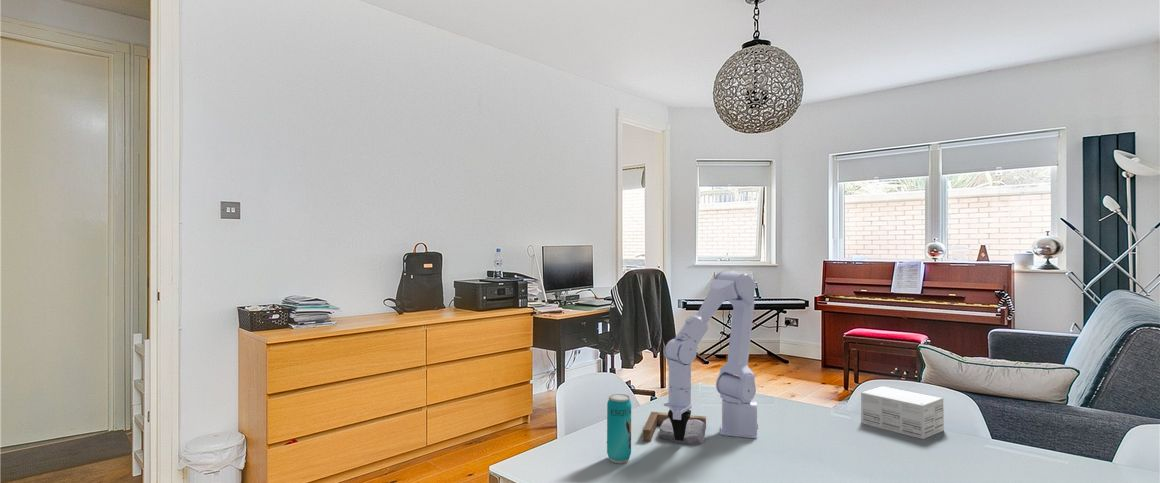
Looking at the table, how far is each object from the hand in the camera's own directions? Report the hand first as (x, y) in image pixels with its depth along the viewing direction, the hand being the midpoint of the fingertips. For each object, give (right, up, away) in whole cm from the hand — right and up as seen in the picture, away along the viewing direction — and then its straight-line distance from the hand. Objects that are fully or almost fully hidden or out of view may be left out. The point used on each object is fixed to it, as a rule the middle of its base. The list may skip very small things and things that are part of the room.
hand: (679, 439), depth 139 cm
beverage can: (-16, -1, -10) cm, 19 cm away
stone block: (+2, -2, +6) cm, 6 cm away
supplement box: (+67, -3, +16) cm, 69 cm away
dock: (+1, -1, +8) cm, 8 cm away
